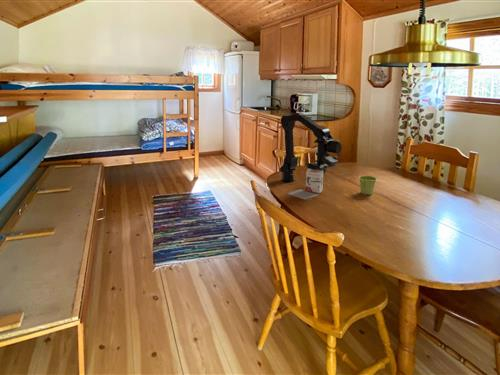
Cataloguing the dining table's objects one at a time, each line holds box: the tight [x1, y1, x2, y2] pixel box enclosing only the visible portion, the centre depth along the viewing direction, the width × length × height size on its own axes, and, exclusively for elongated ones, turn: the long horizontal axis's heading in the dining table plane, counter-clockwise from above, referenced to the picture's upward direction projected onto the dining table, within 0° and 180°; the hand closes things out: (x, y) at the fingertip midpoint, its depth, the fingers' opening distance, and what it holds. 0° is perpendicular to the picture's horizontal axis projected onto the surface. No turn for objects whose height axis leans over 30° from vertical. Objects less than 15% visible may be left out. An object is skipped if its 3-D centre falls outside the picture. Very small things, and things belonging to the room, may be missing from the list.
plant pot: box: [358, 175, 378, 195], centre depth 199 cm, size 9×9×9 cm
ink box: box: [305, 168, 324, 194], centre depth 202 cm, size 9×5×12 cm, turn 62°
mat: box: [287, 188, 319, 201], centre depth 199 cm, size 13×11×1 cm
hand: (321, 178), depth 205 cm, fingers closed
